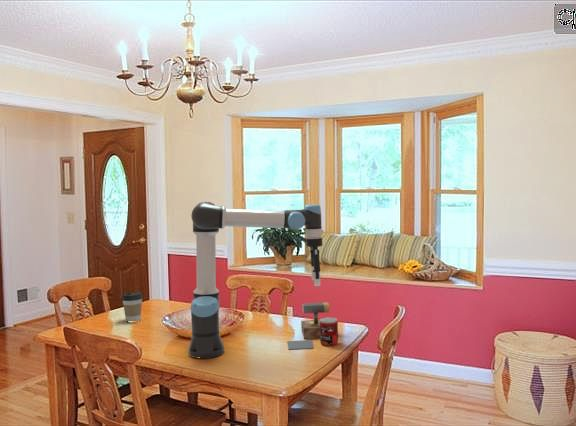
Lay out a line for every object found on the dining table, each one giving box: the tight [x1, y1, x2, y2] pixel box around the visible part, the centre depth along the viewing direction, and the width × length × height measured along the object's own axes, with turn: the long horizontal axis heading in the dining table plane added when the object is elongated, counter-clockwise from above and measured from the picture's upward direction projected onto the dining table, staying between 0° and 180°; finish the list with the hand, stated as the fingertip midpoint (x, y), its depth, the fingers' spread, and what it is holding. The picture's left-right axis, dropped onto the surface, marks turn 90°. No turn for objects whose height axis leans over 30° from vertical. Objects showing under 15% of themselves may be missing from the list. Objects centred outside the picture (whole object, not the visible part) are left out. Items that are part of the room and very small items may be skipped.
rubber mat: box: [286, 339, 315, 351], centre depth 224 cm, size 11×11×1 cm
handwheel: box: [302, 301, 330, 323], centre depth 239 cm, size 12×5×9 cm, turn 94°
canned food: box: [319, 317, 339, 347], centre depth 224 cm, size 8×8×11 cm
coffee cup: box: [121, 291, 144, 322], centre depth 272 cm, size 11×11×15 cm
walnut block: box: [300, 319, 320, 340], centre depth 239 cm, size 13×13×5 cm
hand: (316, 282), depth 235 cm, fingers open, 13 cm apart
